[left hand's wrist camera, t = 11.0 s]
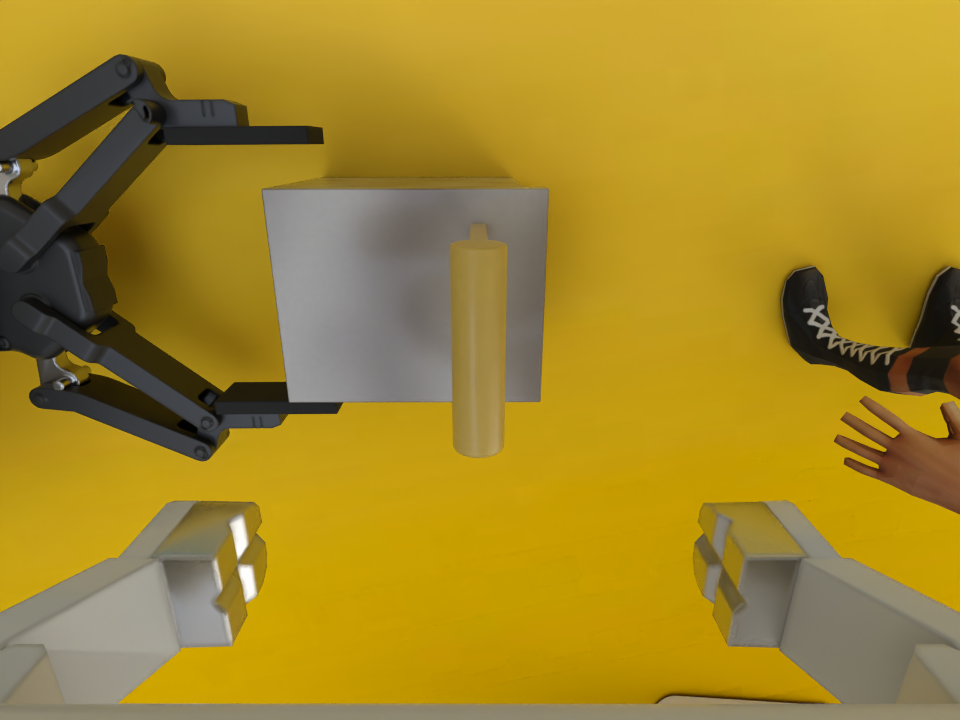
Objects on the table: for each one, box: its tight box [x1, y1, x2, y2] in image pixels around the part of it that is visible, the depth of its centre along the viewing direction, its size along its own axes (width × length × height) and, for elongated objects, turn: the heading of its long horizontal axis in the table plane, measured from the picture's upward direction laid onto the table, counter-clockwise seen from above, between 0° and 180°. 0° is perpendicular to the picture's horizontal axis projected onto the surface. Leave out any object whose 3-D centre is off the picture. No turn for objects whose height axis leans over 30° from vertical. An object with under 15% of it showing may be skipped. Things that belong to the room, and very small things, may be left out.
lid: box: [262, 187, 549, 458], centre depth 23 cm, size 12×10×9 cm
